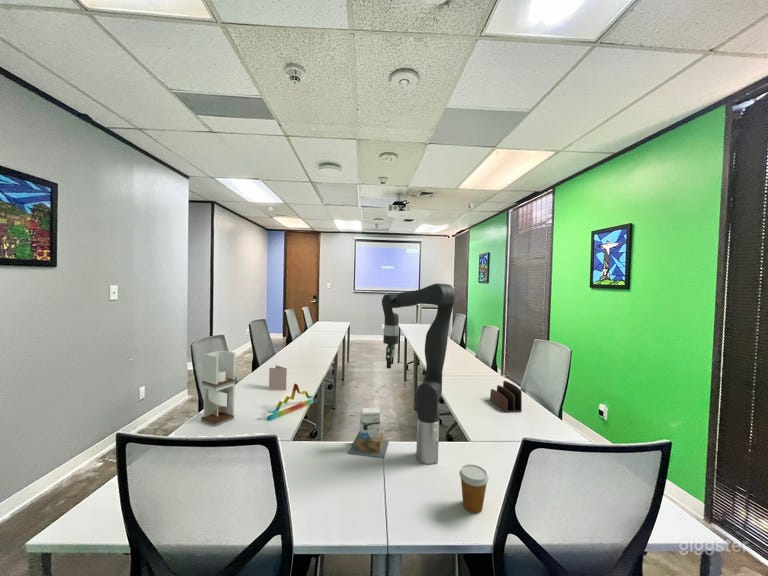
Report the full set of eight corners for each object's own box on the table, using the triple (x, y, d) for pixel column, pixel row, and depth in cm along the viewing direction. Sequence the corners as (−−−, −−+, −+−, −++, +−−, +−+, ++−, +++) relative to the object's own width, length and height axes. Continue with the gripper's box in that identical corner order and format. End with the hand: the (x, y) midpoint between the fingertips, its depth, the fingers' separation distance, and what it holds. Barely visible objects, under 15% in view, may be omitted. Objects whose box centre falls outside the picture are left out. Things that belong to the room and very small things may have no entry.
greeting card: (287, 390, 210) (287, 367, 210) (278, 393, 204) (278, 370, 204) (275, 386, 216) (276, 365, 216) (266, 389, 210) (267, 367, 210)
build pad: (388, 441, 146) (388, 440, 146) (384, 458, 132) (384, 457, 132) (355, 437, 149) (355, 437, 149) (347, 453, 135) (347, 452, 135)
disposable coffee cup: (481, 497, 110) (482, 463, 110) (491, 517, 101) (493, 480, 101) (455, 496, 110) (456, 463, 110) (462, 517, 100) (464, 480, 100)
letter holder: (503, 400, 205) (504, 378, 205) (521, 412, 186) (522, 389, 186) (489, 400, 204) (490, 379, 203) (506, 413, 184) (507, 389, 184)
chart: (270, 421, 164) (271, 393, 164) (267, 419, 166) (267, 391, 165) (313, 403, 189) (314, 379, 189) (310, 402, 191) (310, 378, 191)
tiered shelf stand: (201, 421, 161) (202, 353, 160) (220, 413, 170) (221, 350, 170) (215, 426, 155) (216, 357, 155) (234, 418, 165) (235, 353, 164)
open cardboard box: (382, 443, 144) (382, 432, 144) (379, 452, 136) (380, 441, 136) (359, 440, 146) (359, 430, 145) (355, 449, 138) (355, 438, 138)
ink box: (360, 439, 137) (361, 412, 137) (359, 433, 142) (360, 408, 142) (379, 438, 139) (380, 411, 138) (378, 432, 144) (378, 407, 143)
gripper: (396, 336, 148) (395, 370, 148) (400, 332, 162) (399, 363, 162) (381, 335, 149) (380, 369, 149) (385, 331, 163) (384, 362, 164)
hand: (390, 366), depth 156 cm, fingers open, 8 cm apart
